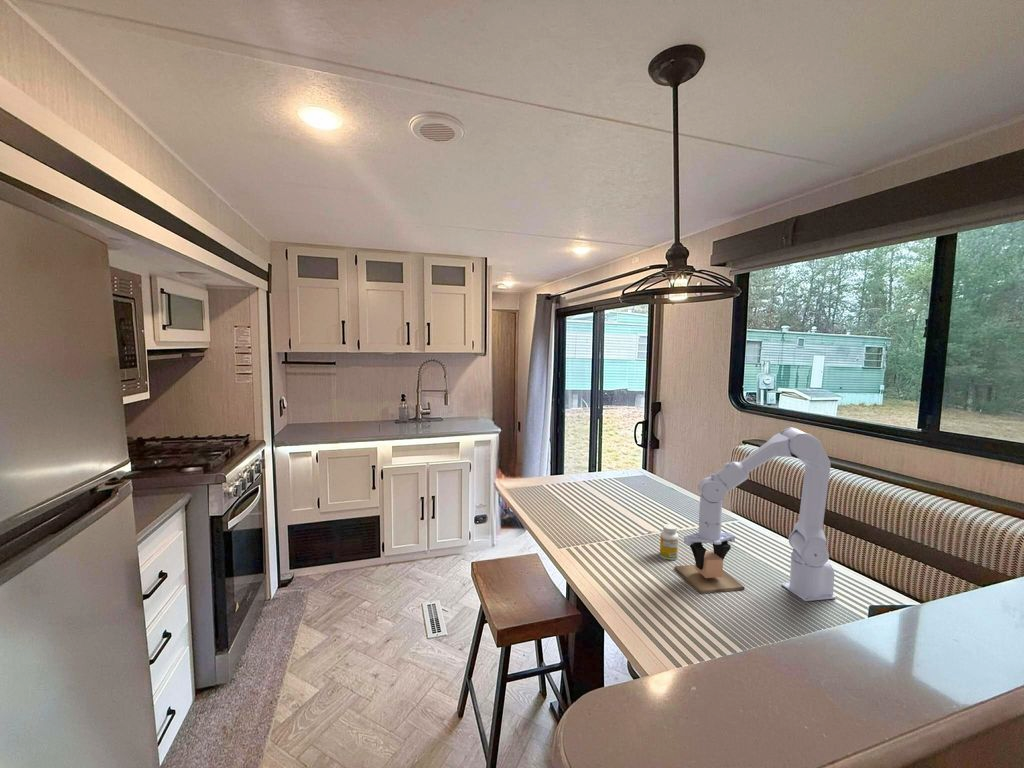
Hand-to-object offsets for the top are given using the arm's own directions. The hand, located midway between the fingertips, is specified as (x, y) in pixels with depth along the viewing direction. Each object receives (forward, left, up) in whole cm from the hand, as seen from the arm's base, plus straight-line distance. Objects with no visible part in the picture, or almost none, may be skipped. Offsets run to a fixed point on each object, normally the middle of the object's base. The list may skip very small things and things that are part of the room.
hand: (708, 567), depth 118 cm
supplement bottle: (+4, -14, -4) cm, 15 cm away
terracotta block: (0, 0, -2) cm, 2 cm away
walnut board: (0, 0, -3) cm, 3 cm away
